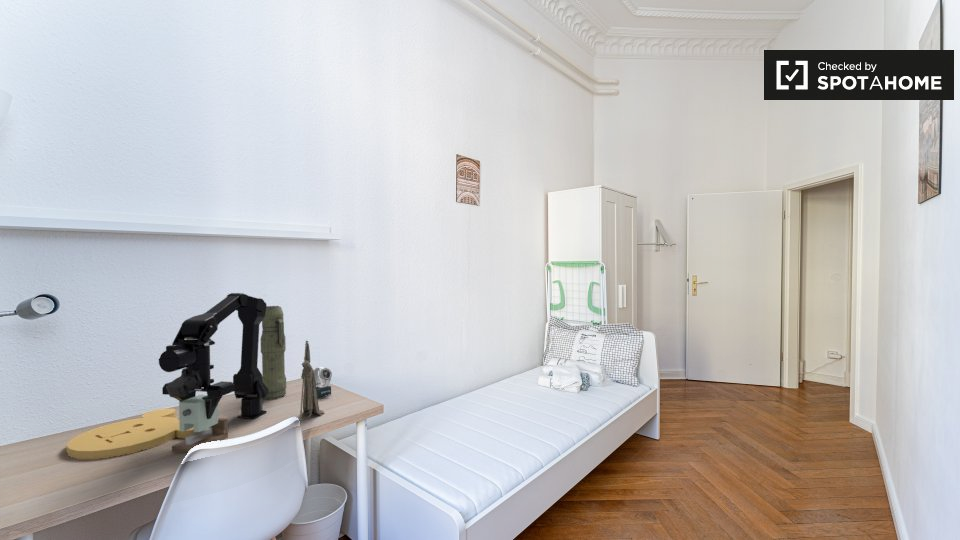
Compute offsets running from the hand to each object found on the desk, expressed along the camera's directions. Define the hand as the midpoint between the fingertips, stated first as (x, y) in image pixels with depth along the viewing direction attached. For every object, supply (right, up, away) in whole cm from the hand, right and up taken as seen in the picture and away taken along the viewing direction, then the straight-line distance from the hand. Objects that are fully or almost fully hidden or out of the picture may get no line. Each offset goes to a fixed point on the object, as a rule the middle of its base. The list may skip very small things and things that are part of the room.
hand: (199, 418), depth 121 cm
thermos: (-1, -7, +46) cm, 46 cm away
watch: (+18, -7, +46) cm, 50 cm away
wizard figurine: (+22, -7, +25) cm, 34 cm away
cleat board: (0, -8, 0) cm, 8 cm away
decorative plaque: (-23, -8, +6) cm, 25 cm away
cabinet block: (0, -3, 0) cm, 2 cm away
